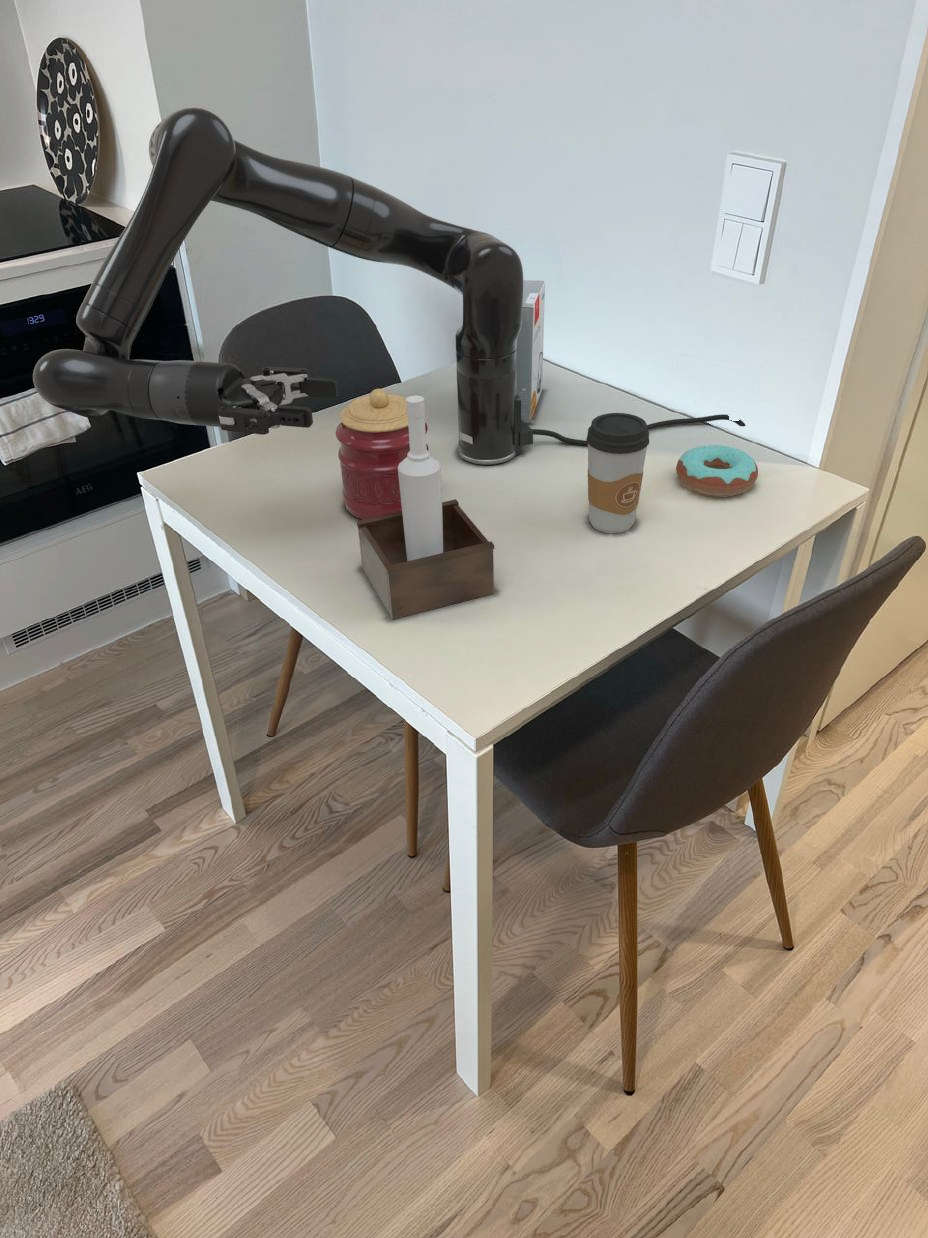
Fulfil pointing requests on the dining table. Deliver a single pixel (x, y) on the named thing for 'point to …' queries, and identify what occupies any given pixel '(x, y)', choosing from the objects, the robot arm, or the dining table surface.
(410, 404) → the bottle
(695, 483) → the donut
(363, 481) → the kitchen canister
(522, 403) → the hard drive box
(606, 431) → the coffee cup
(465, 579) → the crate
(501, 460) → the robot arm
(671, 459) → the dining table surface
